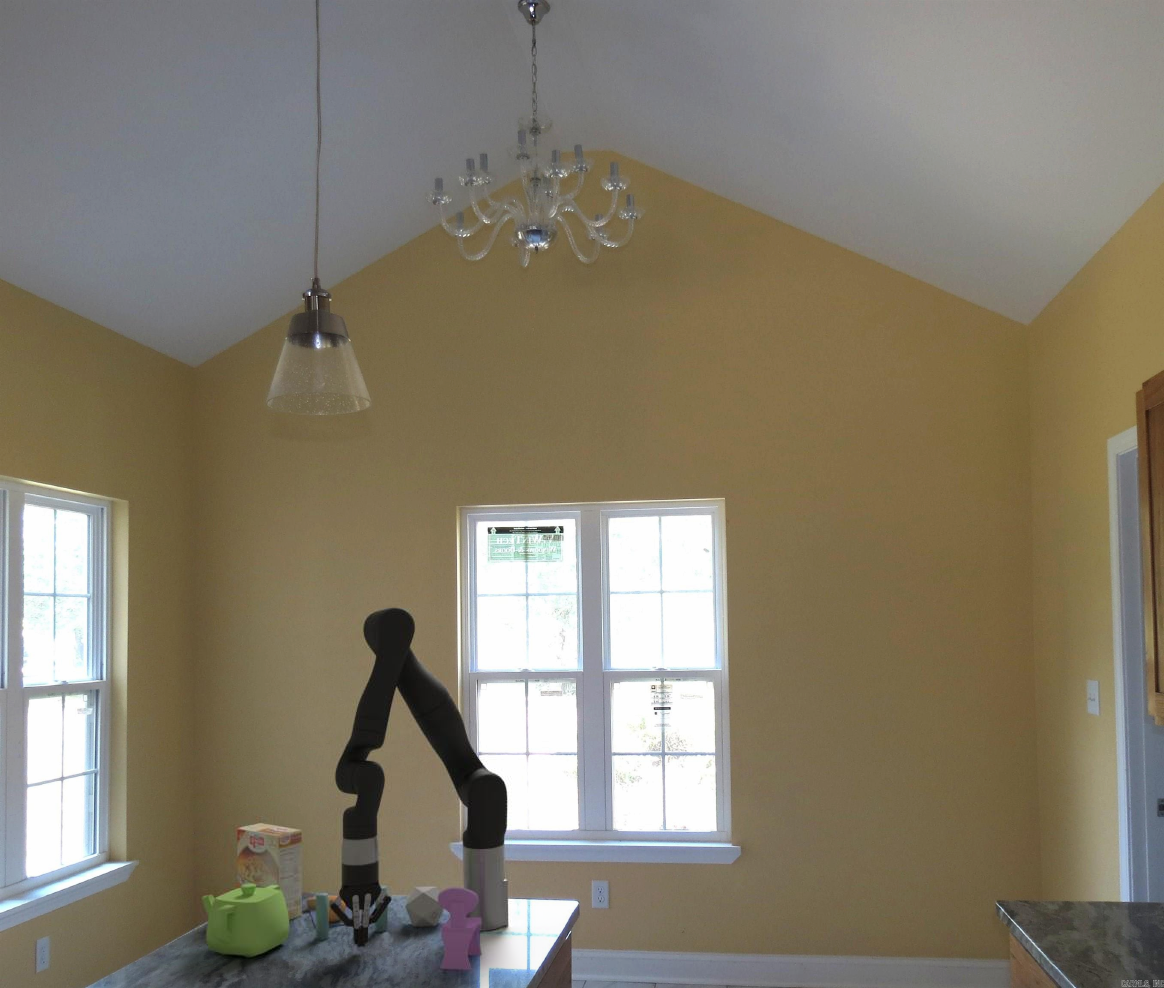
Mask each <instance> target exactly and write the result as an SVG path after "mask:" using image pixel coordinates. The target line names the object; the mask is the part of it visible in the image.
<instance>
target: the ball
mask: <svg viewBox="0 0 1164 988" xmlns="http://www.w3.org/2000/svg"><path fill="white" fill-rule="evenodd" d="M337 897H338V896H330V897H329V903H330V901H332V900H335V899H336V898H337ZM341 903H342V908H341V909H342V910H343V912H344V913H345V910H346V906H345V903H344V902H343V900H342V901H341ZM338 920H340V918H339V917H338V916H337V915H336V914H335V913H334V911H333V910H332V909H331V907H330V905H329V922H336V921H338Z"/></svg>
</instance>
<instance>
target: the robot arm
mask: <svg viewBox="0 0 1164 988" xmlns="http://www.w3.org/2000/svg"><path fill="white" fill-rule="evenodd" d="M363 623H364V624H363V630H362V631H363V632H362V633H363V637H364V640H365V641H366V644H367V645H368V647H369V649H370V650H371V651H372V653H373V654H374V655H375V659H374V663H373V668H372V670H371V674H370V676H369V679H368V680H367V683H366V685H365V688H364V690H363V692H362V693H361V697H360V699H359V701H358V703H357V707H356V711H355V715H354V716H355V717H354V721H353V724H352V730H351V735H350V738H349V740H348V742H347V743H346V746H345V747H344V750H343V752H342V753H341V754H342V755H341V756H340V758H339V760H338V762H337V765H336V768H335V773H334V774H335V775H334V779H335V784H336V787H337V788H338V791H340V792H341V793H344V794H350V795H356V796H357V797H356V801H355V805H352V806H350V807H347V808H346V809H344V811H343V814H342V844H341V886H340V887H341V888H340V890H339V892H338V894H339V896H338V897H337V898H336V899H335V900H332V901H330V903H329V905H330V907H331V909H332V910H333V911H334V913H335V914H336V915H337V916H338V917H339V918H340V920H341V921H342V922H343V923H344V924H345V925H344V926H345V927H348V928H349V927H351V928H352V930H353V931H352V932H353V934H352V935H353V939H352V940H353V942H354V944H355V945H356V947H357V948H362V947H365V946H366V944H367V943H368V942H369V927H370V925H373V924H375V923H376V922H377V921H378V919H379V918H380V916H381V915H382V913H383V912H384V910H385V909H386V907H387V908H388V906H389V905H390V903H391V901H392V897H391V895H390V894H389V893H388V892H387V893H384V892H383V891H382V889H381V886H382V885H380V864H379V863H380V852H379V851H380V848H379V839H378V813H379V810H380V807H381V801H382V797H383V793H384V789H385V782H386V778H385V777H386V775H385V773H384V769H383V767H382V766H381V764H380V763H378V762H377V761H373V760H367V759H368V757H369V755H370V753H371V752H372V751H375V750H379V749H381V748H382V747H383V745H384V744H385V743H384V742H385V740H386V735H387V729H388V724H389V720H390V719H389V718H390V714H391V709H392V705H393V701H394V697H395V693H396V690H398V692H399V694H400V696H401V698H403V701H404V703H405V704H406V706H407V707H408V709H409V711H410V714H411V715H412V717H413V719H414V720H415V722H416V723H417V725H418V727H419V729H420V731H421V732H422V734H423V735H424V737H425V739H426V740H427V741H428V743H429V745H430V746H431V748H432V749H433V750H434V752H435V754H437V756H438V757H439V758H440V761H441V762H442V764H443V765H444V767H445V769H446V771H447V773H448V775H449V778H450V780H451V782H452V784H453V786H454V789H455V791H456V793H457V796H458V798H459V800H460V802H461V803H462V804H463V805H464V807H465V808H467V812H466V813H467V815H466V817H467V820H466V821H467V822H466V823H467V824H466V829H465V830H464V831H463V833H462V878H463V879H462V881H463V883H462V885H463V887H462V888H466V889H469V890H471V891H473V892H475V893H476V894H477V895H478V898H479V901H478V904H477V906H476V907H475V908H474V910H473V911H471V912H470V913H468V914H467V915H466V918H472V917H481V922H482V926H481V929H480V931H492V930H493V931H494V930H497V929H500V928H502V927H504V926H509V925H510V924H509V884H508V883H509V882H508V879H506V865H505V864H506V863H505V859H506V858H505V857H506V856H505V835H506V832H507V828H508V789H507V785H506V783H505V781H504V779H503V778H502V777H501V776H500V775H498V774H496V773H494V772H493V771H490V770H489V769H488V768H487V767H486V766H485V765H484V764H483V762H482V760H481V759H480V757H479V756H478V755H477V754H476V752H475V751H474V748H473V747H472V745H471V742H470V741H469V737H468V734H467V731H466V727H465V724H464V720H463V717H462V715H461V713H460V711H459V708H458V706H457V704H456V703H455V700H453V698H452V696H451V695H450V692H449V691H448V690H447V688H446V687H445V685H444V684H443V683H442V682H441V681H440V680H439V679H438V678H437V677H436V676H435V675H434V674H433V673H432V671H430V670H428V669H427V668H426V666H425V665H424V664H422V662H420V661H419V659H418V657H416V655H415V653H414V652H413V650H412V648H411V645H412V642H413V640H414V637H415V632H416V624H415V623H416V622H415V620H414V618H413V616H412V613H410V612H409V611H408V610H407V609H405V608H403V607H400V606H399V607H397V606H395V607H387V608H385V609H379V610H376V611H374V612H372V613H370V614H369V615H368V616H367V617H366V619H365V620H364V622H363ZM378 897H379V899H378V901H379V903H378V905H377V906H376V908H375V907H374V906H373V905H374V904H375V901H376V900H377V898H378ZM342 900H343V902H344V903H345V904H346V905H347V907H348V908H349V909H350V910H351V911H352V919H351V918H349V917H348V916H347V915H346V914H345V913H344V912H343V910H342V909H341V908H342V903H341V901H342ZM371 907H374V911H373V912H372V914H371V915H370V908H371ZM359 910H361V923H360V913H359ZM369 915H370V916H369Z"/></svg>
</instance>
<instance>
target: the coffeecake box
mask: <svg viewBox="0 0 1164 988" xmlns="http://www.w3.org/2000/svg"><path fill="white" fill-rule="evenodd" d="M302 831H303V830H302V829H298V828H292V827H286V826H280V825H274V824H268V823H262V822H260V823H254V824H250V825H244V826H242V827H237V845H236V847H237V851H236V852H237V857H236V859H237V861H236V862H237V864H236V866H237V867H236V869H237V870H236V874H237V876H236V877H237V880H236V882H237V883H236V885H237V886H236V889H237V888H241V886H242V885H244V884H250V883H252V884H256V888H266V887H268V886H270V885H279V886H280V891H282V893H283V896H284V899H285V903H286V906H287V911H288V917H289V921H290V920H294V919H296V918H298V917H299V918H300V917H302V913H303V911H302V909H303V908H302V898H303V893H302V891H303V890H302V883H303V882H302V880H303V879H302V874H303V873H302V867H303V866H302V859H303V858H302V855H303V853H302V847H303V846H302V840H303V839H302V838H303V837H302V836H303V835H302Z"/></svg>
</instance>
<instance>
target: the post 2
mask: <svg viewBox="0 0 1164 988" xmlns="http://www.w3.org/2000/svg"><path fill="white" fill-rule="evenodd" d="M380 886H381V889H382V891H383V892H384V893H388V886H387V885H380ZM378 899H379V897H378V898H377V900H376V901H375V903H374V904H375V905H374V906H375V907H374V909H375V908H376V906H377V905H378V903H379V901H378ZM374 924H375V925H374V927H375V928H374V929H375V930H374V931H375V932H376V933H377V932H378V933H381V932H382V933H383V932H387V931H388V906H387V907H386V909H385V910H384V912H383V913H382V915H381V916H380V918H379V919H378V921H377V922H376V923H374Z"/></svg>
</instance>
